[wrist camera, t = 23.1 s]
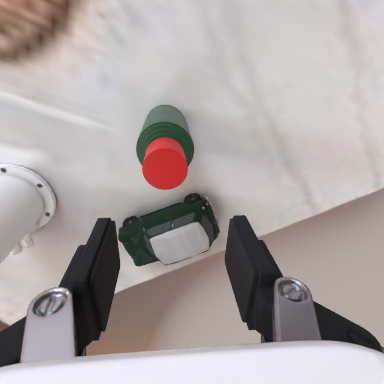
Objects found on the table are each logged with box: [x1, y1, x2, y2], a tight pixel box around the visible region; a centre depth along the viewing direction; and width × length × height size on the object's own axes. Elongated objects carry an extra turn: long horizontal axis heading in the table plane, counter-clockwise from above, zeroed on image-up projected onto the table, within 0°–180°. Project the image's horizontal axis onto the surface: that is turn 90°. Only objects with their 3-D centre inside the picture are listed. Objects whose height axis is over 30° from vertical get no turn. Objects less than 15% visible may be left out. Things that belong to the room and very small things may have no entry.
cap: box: [142, 137, 188, 190], centre depth 24 cm, size 4×4×4 cm
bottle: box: [136, 105, 194, 167], centre depth 31 cm, size 6×6×18 cm
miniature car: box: [118, 193, 220, 266], centre depth 43 cm, size 9×18×8 cm, turn 110°
